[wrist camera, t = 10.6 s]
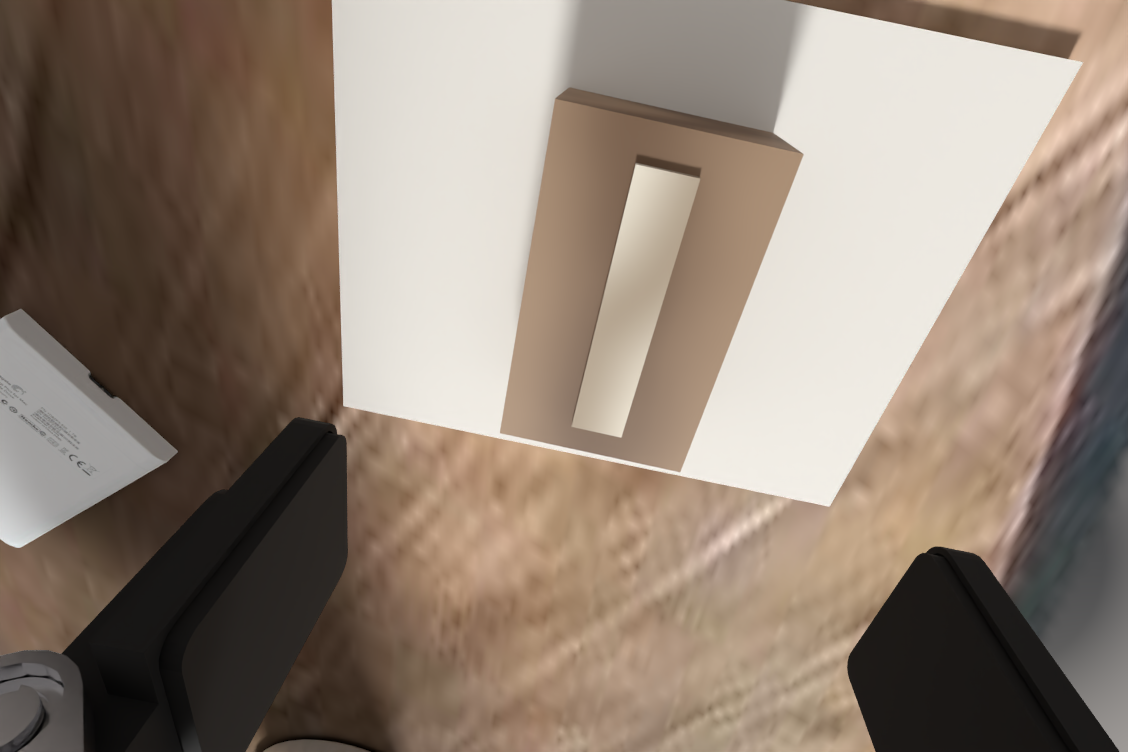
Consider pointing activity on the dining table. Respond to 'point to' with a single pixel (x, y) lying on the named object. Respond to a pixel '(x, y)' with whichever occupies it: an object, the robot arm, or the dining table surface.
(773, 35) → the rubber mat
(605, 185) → the slotted tan block
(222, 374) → the dining table surface
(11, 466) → the external hard drive
